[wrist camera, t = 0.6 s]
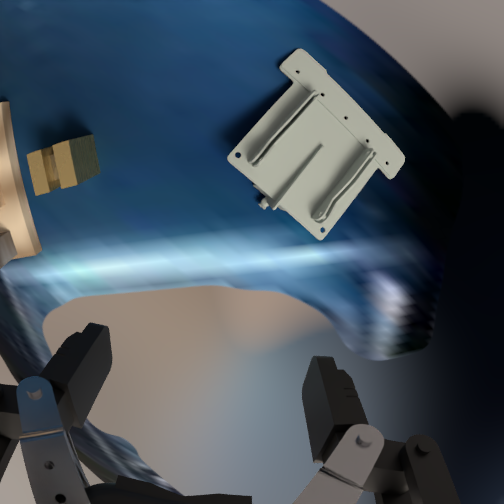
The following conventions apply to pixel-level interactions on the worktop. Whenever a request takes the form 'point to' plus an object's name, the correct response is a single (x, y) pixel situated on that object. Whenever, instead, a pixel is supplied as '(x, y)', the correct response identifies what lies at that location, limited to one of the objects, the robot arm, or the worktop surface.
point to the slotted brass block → (63, 164)
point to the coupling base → (13, 199)
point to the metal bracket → (314, 148)
